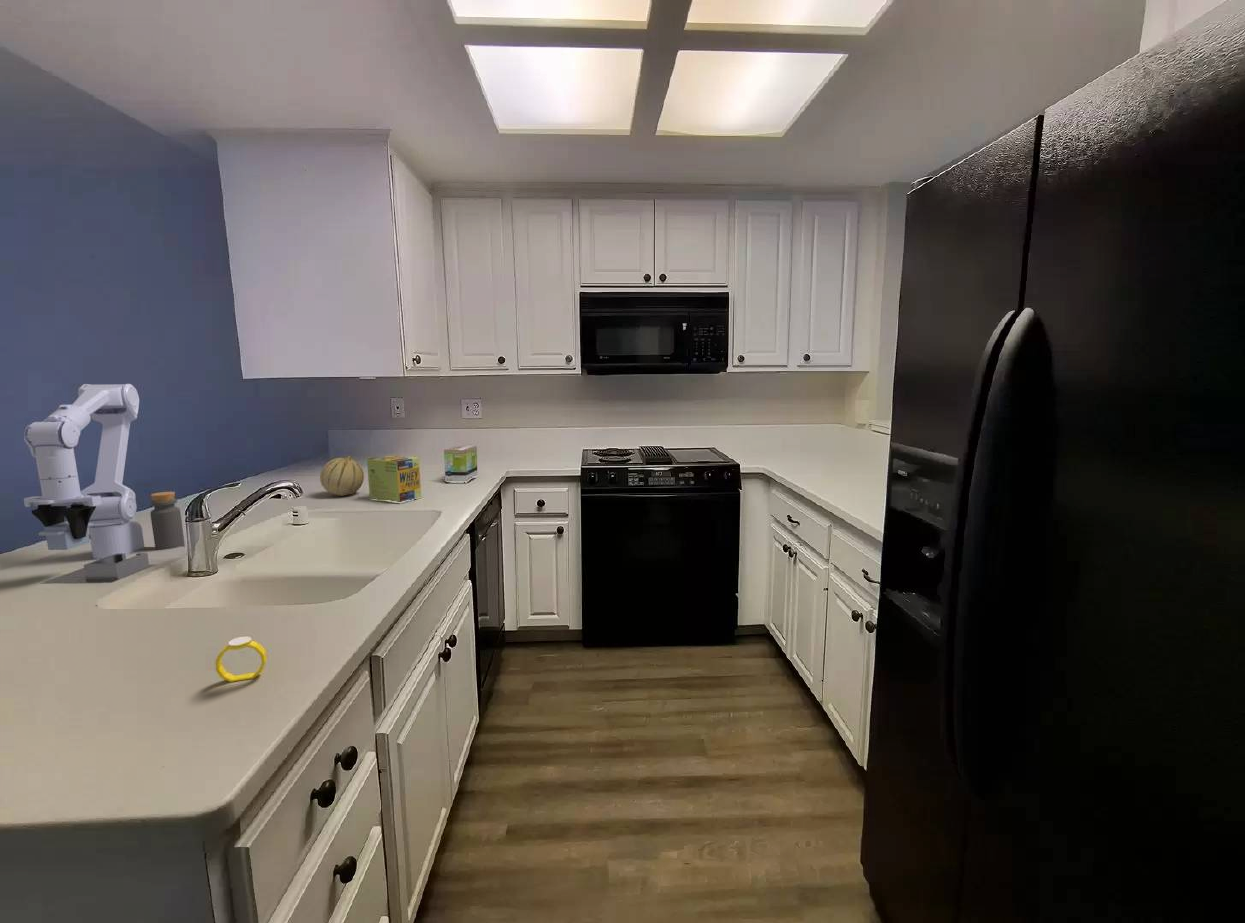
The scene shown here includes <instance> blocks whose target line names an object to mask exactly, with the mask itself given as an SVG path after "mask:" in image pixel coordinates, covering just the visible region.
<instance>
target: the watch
mask: <svg viewBox="0 0 1245 923" xmlns="http://www.w3.org/2000/svg"><path fill="white" fill-rule="evenodd" d="M245 648H250V649H253V650H254V651H255V652H257V654H259V656H260V660H261V664H260V666H259V668H258V669H257V670H256V671H255V672H249V673H244V674H243V673H242V674H238V675H234V674H232V673H230V672H228V671H227V670H226V669H225V667H224V666H223V656H224V654H225V653H226V652H228V651H229V650H241V649H245ZM267 656H268V655H267V652H266V649H265V648H264V647H263V646H262V645H261V644H260V643H259V642H257V641H255V640H253V639H252V638H251V637H250V636H239V637H236V638H233V639H231V640H229V641H228V643H227V645H226V646H224V648H222V650H221V651H220V652H219V654H218V656H217V658H216V659H215V670H216V673H217V674H218V676H219V677H220V678H221V679H223V680H224V681H227V682H229V683H233V682H239V681H244V680H252V679H255V678H256V677H257V676H258V675H260V673H262V672H263V670H264V668H265V666H266V663H267V661H268V657H267Z"/></svg>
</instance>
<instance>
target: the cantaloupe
mask: <svg viewBox="0 0 1245 923" xmlns="http://www.w3.org/2000/svg"><path fill="white" fill-rule="evenodd" d="M319 476H320V478H319V480H320V484H321V486H322V487H323V489H324V490H326V491H327V492H328V493H329V494H332V495H334V496H338V495H347V494H350V495H352V494H355V493H356V492H358V491H359V490H360V488H361V487H362V485H363V483H364V480H365V473H364V470H363V467H362V466H361V465H360V463H358V462H357V461H356V460H354V459H352V457H351V455H348V457H336V458H333V459H331V460H330V461H328V462H327V463H326V464H324V466H322V469H321V471H320V475H319ZM347 496H348V495H347Z"/></svg>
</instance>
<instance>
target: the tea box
mask: <svg viewBox="0 0 1245 923" xmlns="http://www.w3.org/2000/svg"><path fill="white" fill-rule="evenodd" d="M443 452H444V479H445V480H444V482H445V481H468V480H469V479H470V478H472V477H473V476H476V475H477V474H479V473H478V450H477V445H455V446H452V447H449V448H445V449H444V451H443Z"/></svg>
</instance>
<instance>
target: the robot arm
mask: <svg viewBox="0 0 1245 923" xmlns="http://www.w3.org/2000/svg"><path fill="white" fill-rule="evenodd" d="M77 389H78V391H77V397H78V398H76V400H75V401H74V402H73V403H71V404H60V405H59V406H58V408H57V409H56V410H55V411H54V412H52V413H51V414H49V415H48V416H47V417H46V418H45V419H43V420H42V421H34V422H32V423H31V424H28V425H27V426H26V427H25V429H24V436H23V440H24V443H25V444H26V445H27V447H28V449H29V450H30V455H31V456H32V458H35V461H36V466H37V467H36V469H37V473H38V474H37V475H38V479H39V484H40V490H41V496H40V495H39V496H29V497H24V498H23V502H24V507H25V508H32V507H37V508H35V509H33V510H31V515H33V516H34V517H35V518H36V519H38V520H39V521H40V523H41V524H42V525H43V526H44V527H48V526H52V525H55V524H59V523H63V522H65V519H66V522H67V521H68V523H69V526H70V530H71V534H72V536H73V538H74V539H80V538H83V537H86V532H87V527H88V523H93V526H89V527H88V533H89V535H90V536H91V539H90V547H91V553H92V558H93V559H96V560H99V559H102V558H105V557H108V556H111V555H114V554H117V553H125V555H129V554H132V553H133V552H135V551H138V550H140V549H144V548H145V542H144V541H145V540H144V534H143V533H144V532H143V527H142V525H141V523H140V522H139V521H138V520H137V519H135V518H134V517H135V515H136V513H137V509H138V508H137V501H136V493H135V492H134V490H133V489H131V488H130V487H128V486H126V485H124V484H123V482H124V481H123V480H124V473H125V465H126V458H127V452H128V445H129V444H128V442H129V435H130V429H131V428H130V427H131V422H133V421H135V420H137V419H138V413H139V406H140V397H139V393H138V390H137V389H136V387H135V386H134V385H133V384H131V383H125V384H124V383H123V384H117V383H116V384H115V383H114V384H88V383H84V384H82V385H81V386H80V387H78V388H77ZM91 420H92V421H96V422H97V423H101V425H102V430H101V437H100V441H99V442H100V443H99V448H98V449H99V450H98V457H97V463H96V468H95V477H94V482H93V483H92V484H91V485H89V486H87V487H85V488H84V489H82V490H81V487H80V480H79V474H78V469H77V468H78V467H77V463H76V456H75V451H74V450H75V449H74V447H77V445H78V443H79V439H80V436H81V431H82V430H83V429H85V428H86V427H87V426H88V425H89V424H90V422H91Z"/></svg>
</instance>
